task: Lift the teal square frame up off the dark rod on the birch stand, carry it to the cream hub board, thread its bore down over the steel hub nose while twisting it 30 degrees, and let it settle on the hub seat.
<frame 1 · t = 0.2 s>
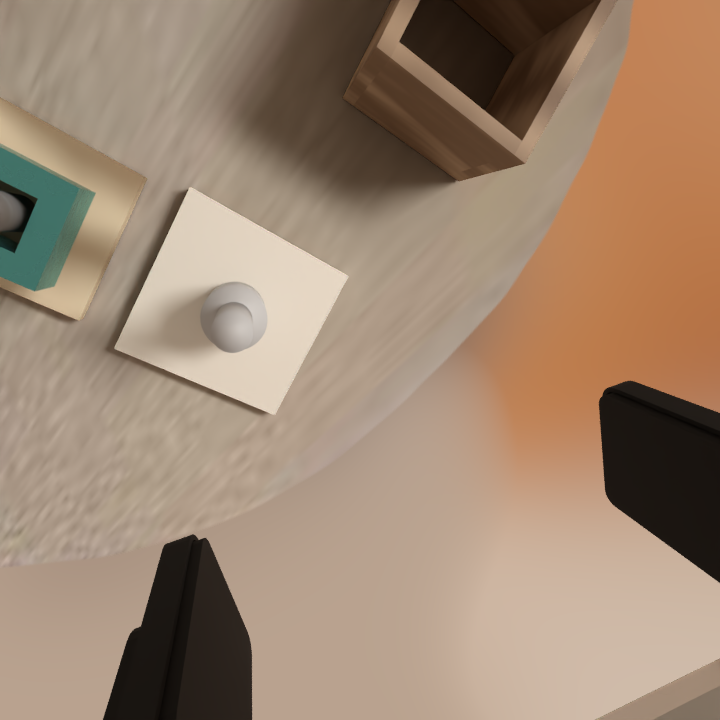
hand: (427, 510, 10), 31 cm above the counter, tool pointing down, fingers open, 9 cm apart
tool caddy: (439, 74, 36), on the counter
hub: (236, 309, 37), on the counter
stand: (44, 215, 32), on the counter
teal square frame: (17, 212, 28), point 4 cm above the counter, touching stand
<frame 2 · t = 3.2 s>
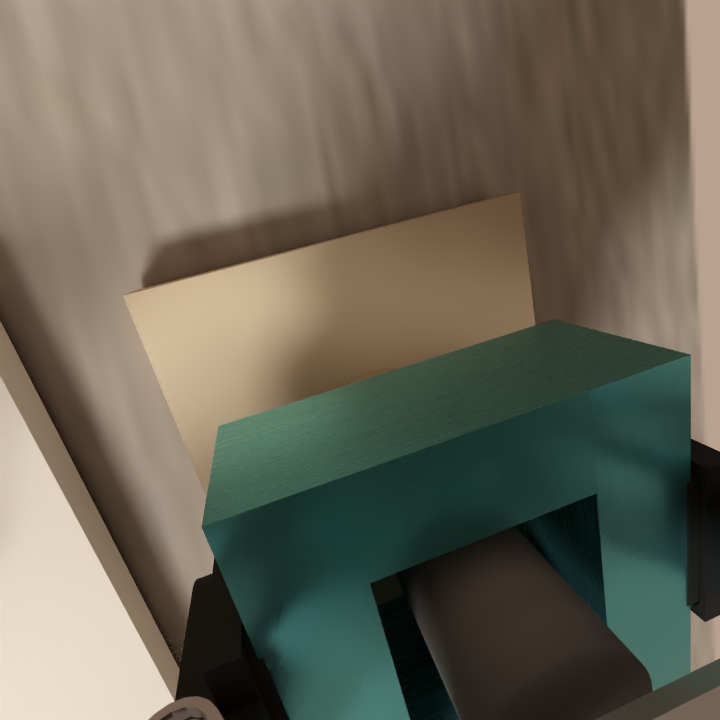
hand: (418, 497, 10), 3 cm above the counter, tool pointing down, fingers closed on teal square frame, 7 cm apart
stand: (379, 438, 13), on the counter
teal square frame: (430, 515, 10), point 4 cm above the counter, touching gripper, stand
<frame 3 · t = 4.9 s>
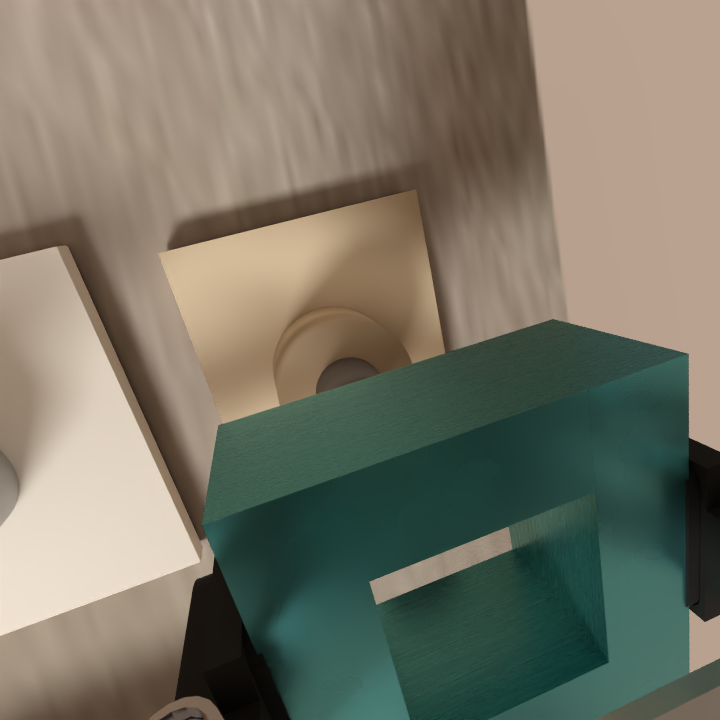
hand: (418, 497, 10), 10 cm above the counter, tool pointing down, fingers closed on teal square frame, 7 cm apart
stand: (328, 358, 19), on the counter
teal square frame: (429, 514, 10), point 11 cm above the counter, touching gripper
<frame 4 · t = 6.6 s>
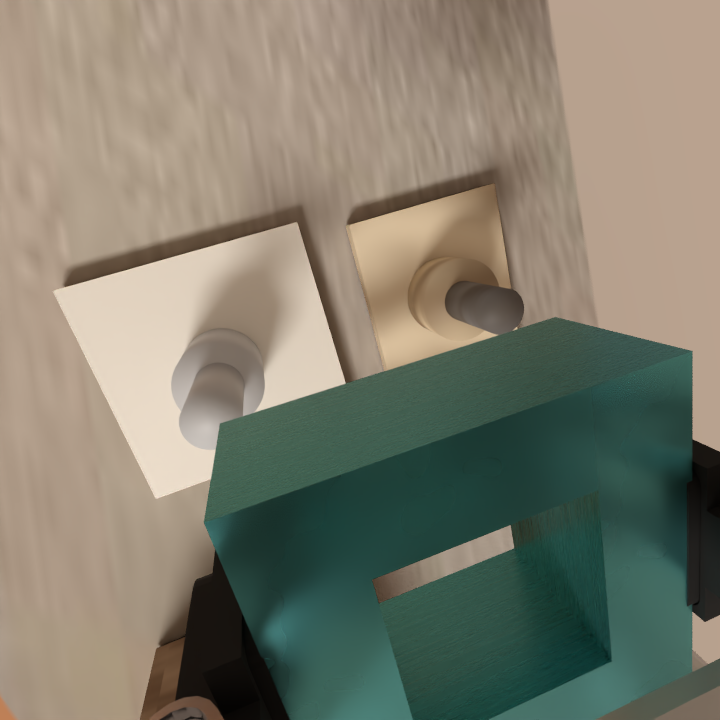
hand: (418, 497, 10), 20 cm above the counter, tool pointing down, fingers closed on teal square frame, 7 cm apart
tool caddy: (262, 670, 35), on the counter
hub: (224, 362, 28), on the counter
stand: (436, 293, 30), on the counter
teal square frame: (431, 513, 10), point 21 cm above the counter, touching gripper
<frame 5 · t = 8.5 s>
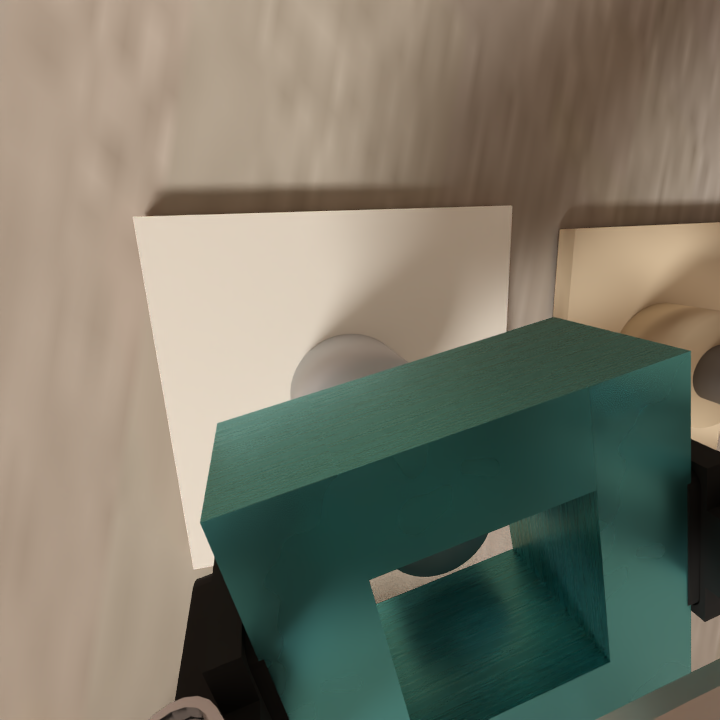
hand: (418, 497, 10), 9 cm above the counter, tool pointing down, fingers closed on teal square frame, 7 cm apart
hub: (344, 384, 19), on the counter
stand: (637, 350, 22), on the counter
teal square frame: (429, 513, 10), point 10 cm above the counter, touching gripper
when the fingers open (5 cm above the counter, at t = 9.9 s): teal square frame stays where it is, resting on hub.
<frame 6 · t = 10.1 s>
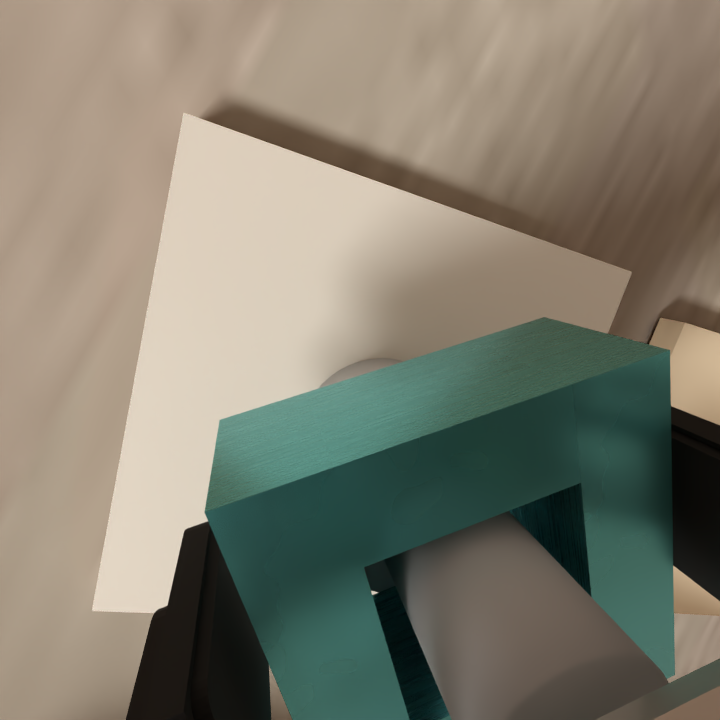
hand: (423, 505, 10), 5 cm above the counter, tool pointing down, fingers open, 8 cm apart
hub: (368, 420, 15), on the counter
stand: (689, 478, 19), on the counter
teal square frame: (424, 506, 10), point 5 cm above the counter, touching hub
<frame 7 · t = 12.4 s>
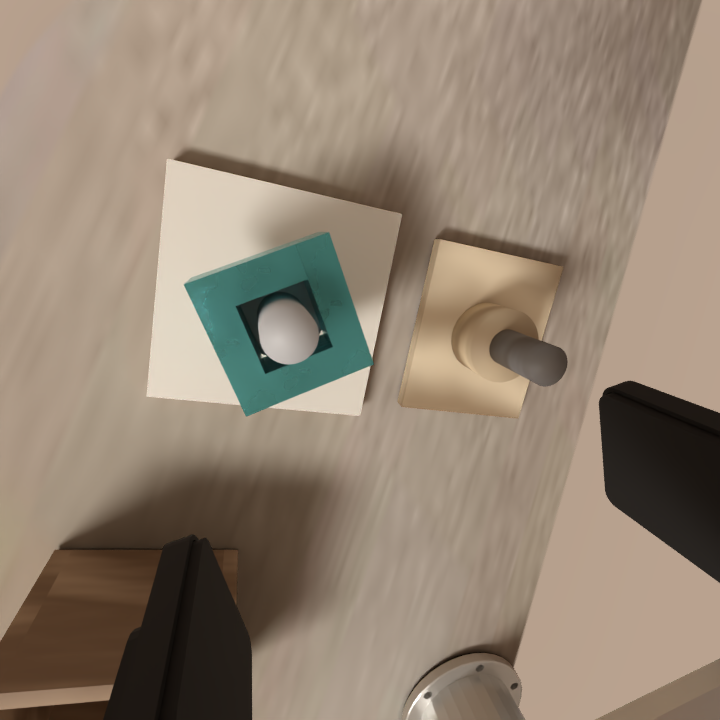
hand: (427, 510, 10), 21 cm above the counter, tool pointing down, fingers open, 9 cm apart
tool caddy: (144, 618, 33), on the counter
hub: (275, 301, 29), on the counter
stand: (476, 333, 33), on the counter
teal square frame: (281, 316, 24), point 5 cm above the counter, touching hub
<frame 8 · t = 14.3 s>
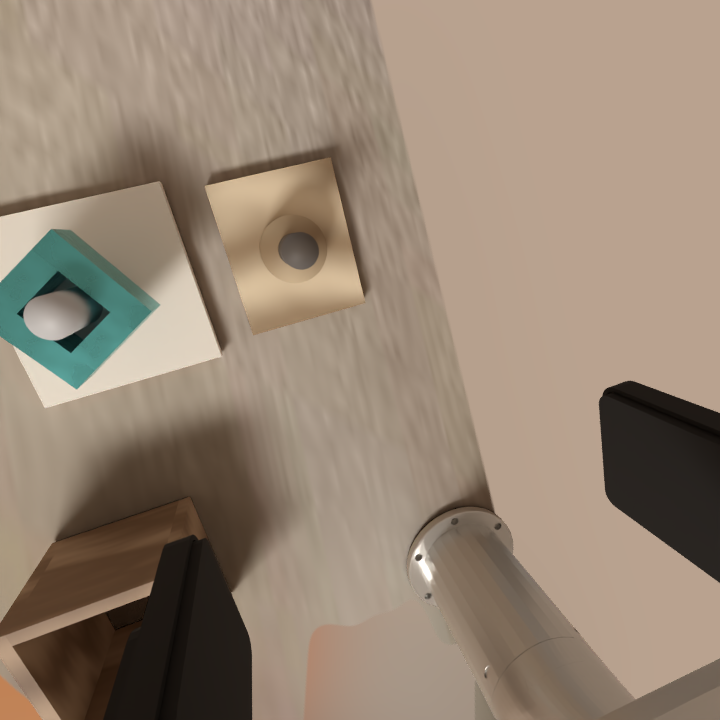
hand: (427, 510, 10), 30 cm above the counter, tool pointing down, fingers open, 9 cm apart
tool caddy: (148, 571, 41), on the counter
hub: (104, 296, 34), on the counter
stand: (289, 248, 37), on the counter
teal square frame: (81, 306, 30), point 5 cm above the counter, touching hub
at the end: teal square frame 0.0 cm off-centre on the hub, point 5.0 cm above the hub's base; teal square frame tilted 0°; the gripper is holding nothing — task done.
